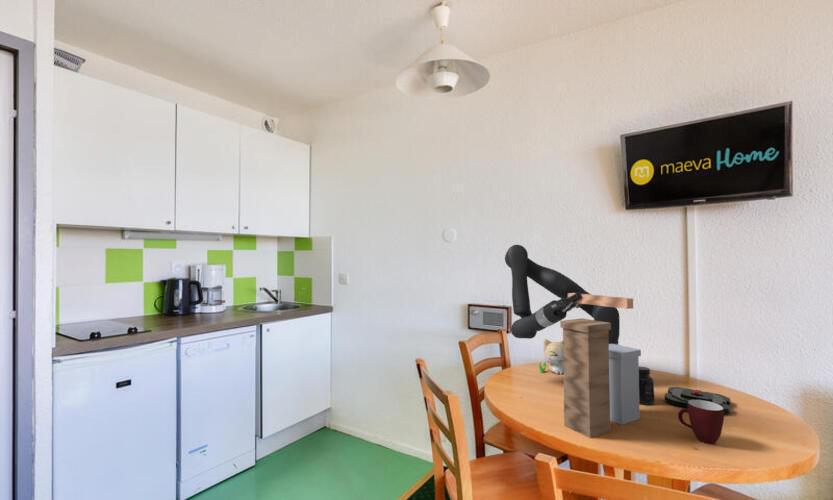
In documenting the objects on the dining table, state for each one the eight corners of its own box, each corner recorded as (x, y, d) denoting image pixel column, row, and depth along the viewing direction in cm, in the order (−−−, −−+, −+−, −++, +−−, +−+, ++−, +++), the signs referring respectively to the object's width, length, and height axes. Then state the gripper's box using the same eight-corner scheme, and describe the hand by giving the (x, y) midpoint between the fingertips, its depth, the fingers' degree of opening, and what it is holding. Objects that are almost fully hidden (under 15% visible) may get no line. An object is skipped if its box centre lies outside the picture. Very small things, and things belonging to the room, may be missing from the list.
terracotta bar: (567, 301, 134) (567, 293, 134) (573, 301, 135) (573, 292, 136) (627, 308, 115) (627, 299, 115) (633, 308, 116) (633, 298, 116)
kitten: (543, 375, 165) (542, 341, 165) (535, 369, 175) (535, 336, 175) (576, 375, 165) (576, 341, 166) (567, 369, 175) (567, 336, 176)
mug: (675, 438, 107) (675, 403, 107) (680, 429, 113) (679, 395, 113) (723, 451, 100) (722, 413, 100) (725, 440, 106) (724, 404, 106)
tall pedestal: (561, 425, 116) (560, 320, 117) (583, 418, 121) (582, 318, 121) (590, 438, 107) (588, 325, 108) (612, 431, 112) (610, 322, 112)
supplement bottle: (652, 400, 136) (652, 366, 136) (655, 406, 130) (655, 371, 130) (631, 397, 139) (630, 364, 139) (632, 403, 133) (632, 369, 133)
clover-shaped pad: (663, 405, 132) (662, 392, 132) (670, 391, 146) (669, 379, 146) (729, 419, 120) (729, 405, 120) (730, 403, 134) (730, 390, 134)
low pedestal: (593, 413, 124) (592, 346, 125) (613, 408, 129) (611, 343, 129) (622, 425, 115) (621, 353, 116) (642, 419, 120) (640, 349, 121)
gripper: (533, 306, 141) (565, 285, 128) (559, 303, 148) (592, 283, 135) (540, 325, 138) (574, 305, 125) (567, 321, 144) (602, 303, 131)
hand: (583, 294), depth 130 cm, fingers closed on terracotta bar, 3 cm apart
